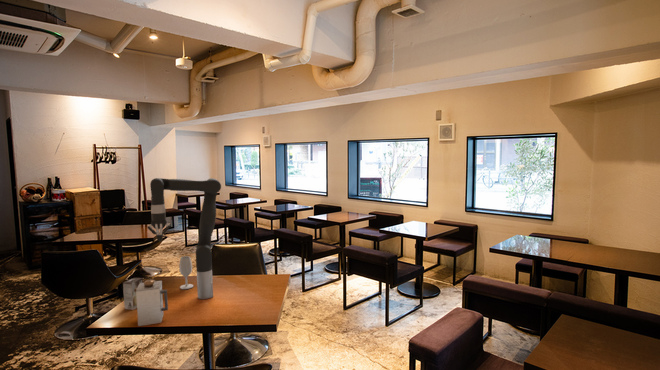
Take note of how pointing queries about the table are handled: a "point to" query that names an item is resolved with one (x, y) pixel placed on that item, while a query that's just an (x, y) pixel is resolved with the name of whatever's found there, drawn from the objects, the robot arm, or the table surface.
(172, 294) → the table surface
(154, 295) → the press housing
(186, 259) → the wineglass
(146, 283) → the brass disc knob
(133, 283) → the coffee box
